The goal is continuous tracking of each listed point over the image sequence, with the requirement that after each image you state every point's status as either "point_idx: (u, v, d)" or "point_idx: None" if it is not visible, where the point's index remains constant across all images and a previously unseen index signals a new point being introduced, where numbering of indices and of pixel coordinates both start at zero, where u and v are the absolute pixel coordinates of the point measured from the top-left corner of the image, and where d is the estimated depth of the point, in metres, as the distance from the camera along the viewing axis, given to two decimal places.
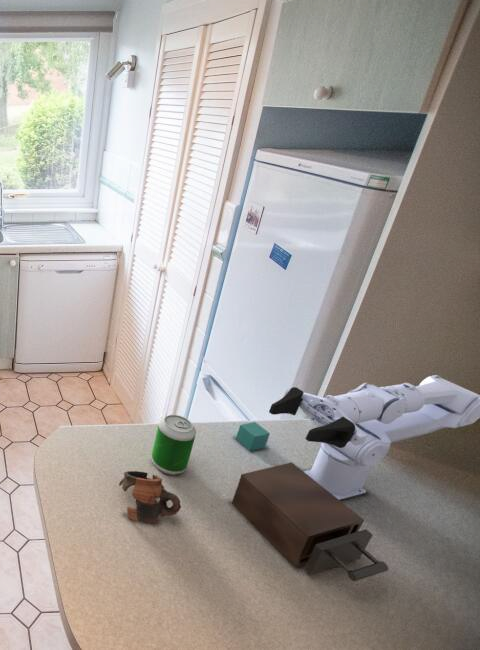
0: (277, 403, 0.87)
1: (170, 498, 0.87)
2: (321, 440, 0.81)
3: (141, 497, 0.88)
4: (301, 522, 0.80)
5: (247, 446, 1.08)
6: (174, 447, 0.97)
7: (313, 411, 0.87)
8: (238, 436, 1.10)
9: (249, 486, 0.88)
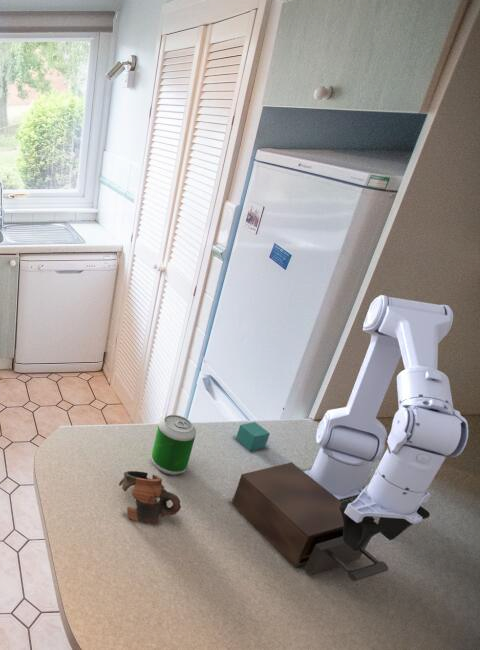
0: (360, 548, 0.72)
1: (170, 497, 0.87)
2: None
3: (141, 497, 0.88)
4: (301, 522, 0.80)
5: (247, 446, 1.08)
6: (174, 447, 0.97)
7: None
8: (238, 436, 1.10)
9: (249, 486, 0.88)
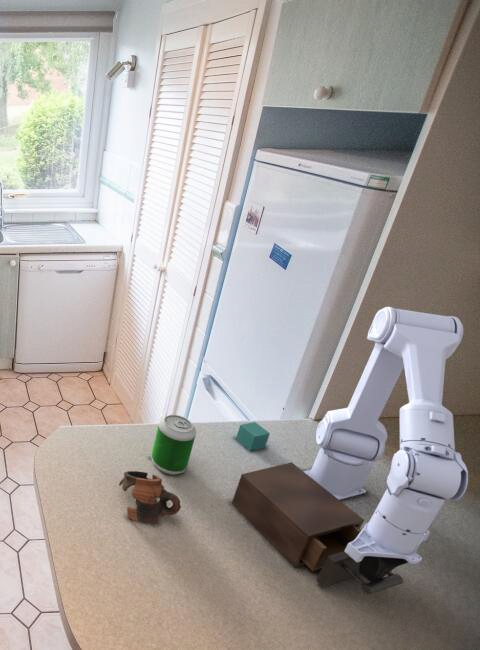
0: None
1: (170, 498, 0.87)
2: None
3: (141, 497, 0.88)
4: (301, 522, 0.80)
5: (247, 446, 1.08)
6: (174, 447, 0.97)
7: None
8: (238, 436, 1.10)
9: (249, 486, 0.88)
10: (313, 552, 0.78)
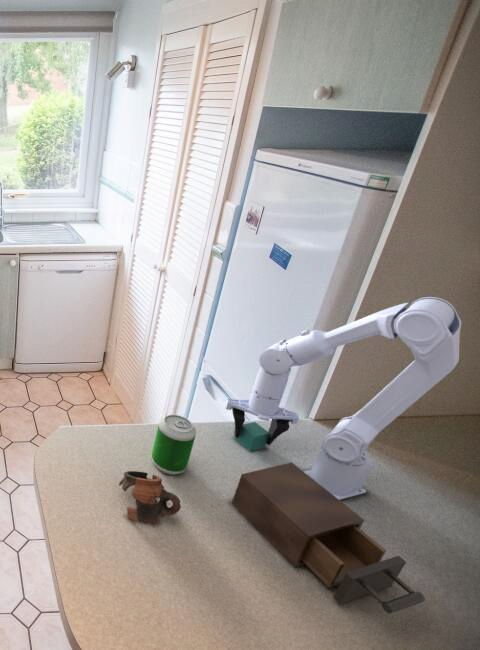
0: (237, 435, 1.09)
1: (170, 498, 0.87)
2: None
3: (141, 497, 0.88)
4: (301, 522, 0.80)
5: (247, 446, 1.08)
6: (174, 447, 0.97)
7: None
8: None
9: (249, 486, 0.88)
10: (330, 568, 0.76)
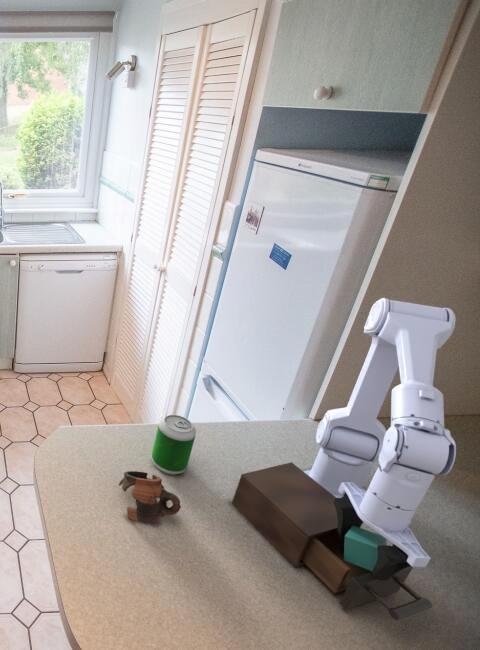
0: None
1: (170, 498, 0.87)
2: None
3: (141, 497, 0.88)
4: (301, 522, 0.80)
5: None
6: (174, 447, 0.97)
7: None
8: None
9: (249, 486, 0.88)
10: (336, 573, 0.75)
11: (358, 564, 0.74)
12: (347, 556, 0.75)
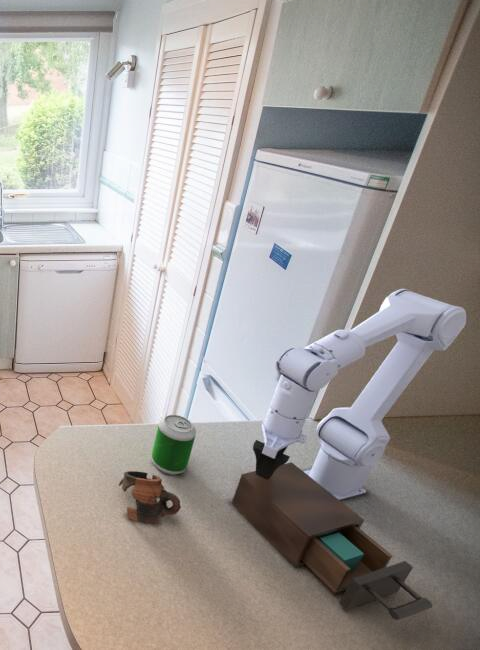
0: (270, 476, 0.85)
1: (170, 498, 0.87)
2: None
3: (141, 497, 0.88)
4: (301, 522, 0.80)
5: (356, 552, 0.76)
6: (174, 447, 0.97)
7: None
8: (340, 553, 0.76)
9: (249, 486, 0.88)
10: (336, 573, 0.75)
11: None
12: None
